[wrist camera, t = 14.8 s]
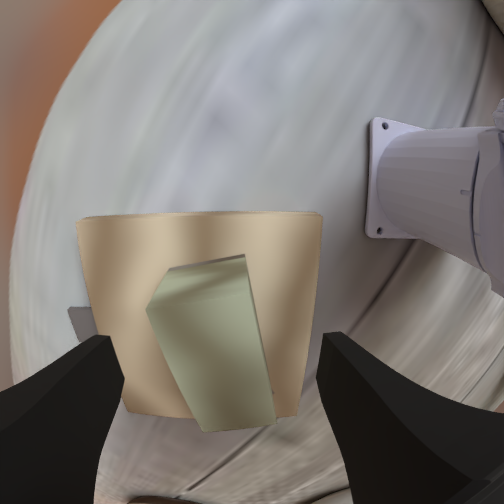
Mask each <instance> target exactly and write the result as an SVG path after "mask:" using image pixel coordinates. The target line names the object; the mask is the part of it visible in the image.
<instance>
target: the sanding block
mask: <svg viewBox="0 0 504 504" xmlns="http://www.w3.org/2000/svg"><path fill="white" fill-rule="evenodd" d="M145 310H146V313H147V316H148V318H149V321H150V323H151V326H152V328H153V331H154V333H155V336H156V338H157V341H158V343H159V345H160V348H161V350H162V352H163V354H164V357H165V359H166V361H167V363H168V366H169V368H170V370H171V372H172V374H173V376H174V378H175V380H176V383H177V385H178V387H179V389H180V391H181V393H182V395H183V397H184V399H185V400H186V402H187V404H188V406H189V408H190V410H191V412H192V414H193V416H194V417H195V419H196V421H197V423H198V425H199V426H200V428H201V430H202V432H217V431H228V430H238V429H246V428H253V427H260V426H267V425H273V424H277V419H276V413H275V407H274V402H273V396H272V390H271V384H270V378H269V372H268V367H267V362H266V357H265V352H264V347H263V343H262V338H261V333H260V328H259V323H258V318H257V313H256V308H255V303H254V298H253V293H252V288H251V282H250V277H249V272H248V267H247V262H246V257H245V254H241V255H235V256H230V257H225V258H219V259H214V260H209V261H203V262H198V263H193V264H188V265H182V266H177V267H172V268H169V269H168V271H167V273H166V275H165V276H164V278H163V280H162V281H161V283H160V285H159V286H158V288H157V290H156V292H155V293H154V295H153V297H152V299H151V300H150V302H149V304H148V306H147V307H146V309H145Z"/></svg>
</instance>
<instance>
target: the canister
mask: <svg viewBox="0 0 504 504" xmlns="http://www.w3.org/2000/svg"><path fill="white" fill-rule="evenodd" d="M482 2H483V4H484V6H485V7H486V9H487V11H488V12H489V14H490V15H491V17H492V18H493V20H494V21H495V23H496V24H497V26H498V27H499V29H500V30H501V31H502V33H503V34H504V0H482Z"/></svg>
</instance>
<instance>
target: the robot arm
mask: <svg viewBox="0 0 504 504" xmlns="http://www.w3.org/2000/svg"><path fill="white" fill-rule="evenodd" d="M493 118H494V122H495V125H496V126H488V127H461V128H446V129H434V130H427V129H423V128H420V127H416V126H412V125H409V124H405V123H401V122H397V121H392V120H388V119H383V118H379V117H376V118H373V119H371V121H370V164H369V187H368V202H367V214H366V225H365V233H366V235H367V236H369V237H370V238H403V239H422V240H424V241H426V242H428V243H430V244H432V245H434V246H436V247H438V248H440V249H442V250H444V251H446V252H448V253H450V254H452V255H454V256H456V257H458V258H460V259H462V260H463V261H465V262H467V263H469V264H471V265H473V266H475V267H476V268H478V269H480V270H482V271H484V272H485V273H487V274H488V275H489V276H490V279H491V289H492V290H493V291H494V292H496V293H497V294H499V295H500V296H502V297H503V298H504V99H501V100H500V102H499V104H498V106H497V110H495V111H494V112H493ZM382 123H384V124H385V126H386V128H385V129H383V127H382ZM379 227H380V229H381V230H380V232H379V233H377V229H378V228H379ZM316 380H317V384H318V389H319V393H320V397H321V401H322V404H323V407H324V409H325V412H326V415H327V417H328V420H329V422H330V425H331V427H332V430H333V433H334V435H335V438H336V440H337V443H338V446H339V448H340V451H341V454H342V457H343V460H344V463H345V468H346V472H347V476H348V480H349V485H350V490H351V495H352V501H353V504H504V413H497V412H492V411H487V410H483V409H478V408H475V407H471V406H468V405H464V404H462V403H459V402H456V401H453V400H451V399H448V398H445V397H443V396H441V395H438V394H436V393H434V392H432V391H430V390H428V389H426V388H424V387H422V386H420V385H418V384H416V383H414V382H413V381H411V380H409V379H408V378H406V377H404V376H403V375H401V374H399V373H398V372H396V371H395V370H393V369H392V368H390V367H389V366H387V365H386V364H384V363H383V362H381V361H380V360H379V359H377V358H376V357H374V356H373V355H372V354H370V353H369V352H368V351H366V350H365V349H364V348H362V347H361V346H360V345H358V344H357V343H356V342H354V341H353V340H352V339H350V338H349V337H348V336H346V335H345V334H343V333H342V332H341V331H340V332H331V333H323V339H322V346H321V352H320V358H319V364H318V369H317V375H316ZM124 381H125V377H124V375H123V372H122V369H121V367H120V364H119V361H118V358H117V355H116V352H115V349H114V346H113V343H112V340H111V337H110V336H108V335H97V334H96V335H94V336H92V337H90V338H88V339H87V340H85V341H84V342H82V343H81V344H79V345H78V346H76V347H75V348H73V349H72V350H70V351H69V352H67V353H66V354H64V355H63V356H62V357H60V358H59V359H57V360H56V361H54V362H53V363H51V364H50V365H48V366H47V367H45V368H43V369H42V370H40V371H39V372H37V373H35V374H34V375H32V376H31V377H29V378H27V379H26V380H24V381H22V382H20V383H18V384H16V385H14V386H12V387H10V388H8V389H6V390H4V391H1V392H0V504H94V491H95V482H96V475H97V469H98V464H99V459H100V455H101V452H102V448H103V445H104V443H105V440H106V437H107V434H108V432H109V429H110V426H111V424H112V421H113V418H114V416H115V413H116V410H117V408H118V405H119V402H120V398H121V394H122V390H123V386H124Z"/></svg>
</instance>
